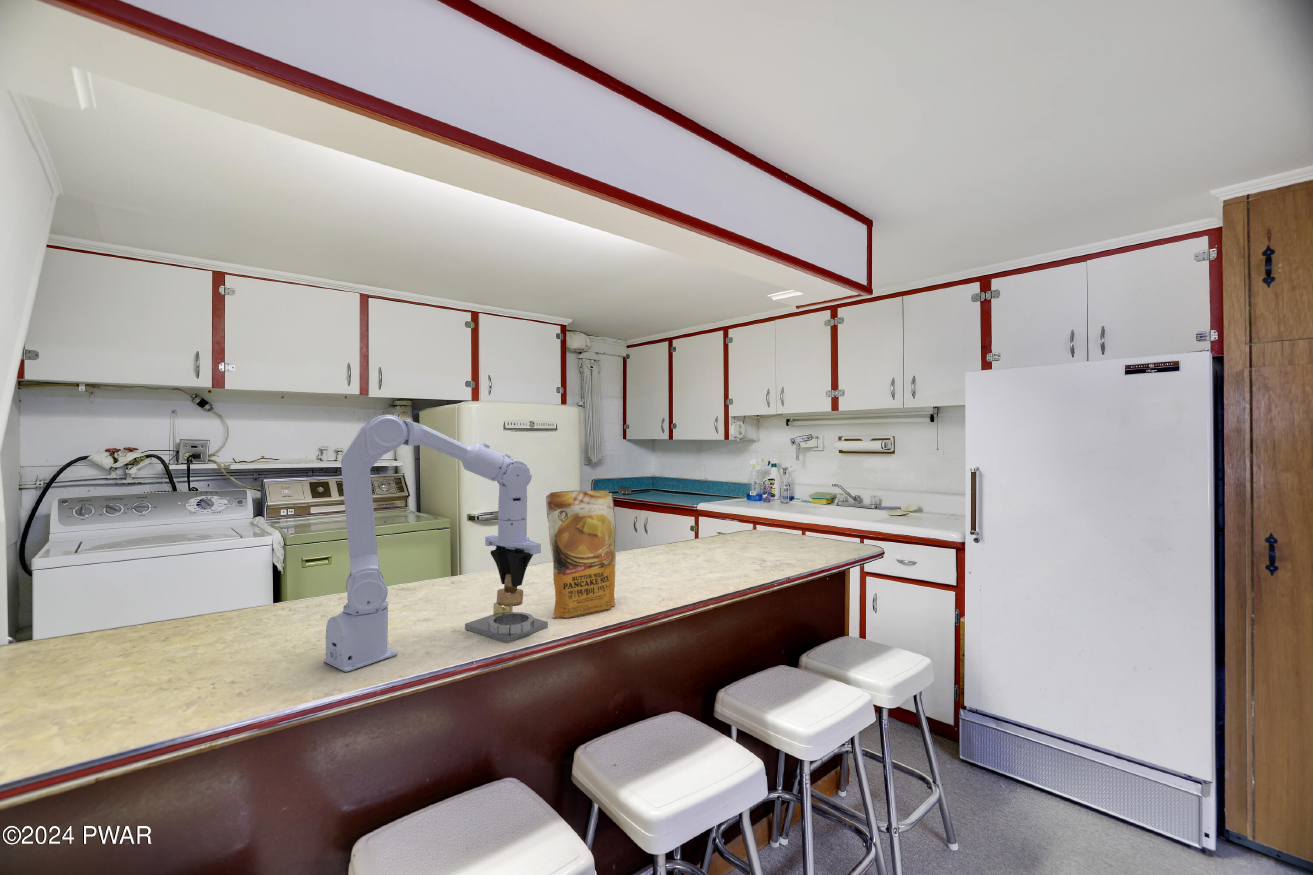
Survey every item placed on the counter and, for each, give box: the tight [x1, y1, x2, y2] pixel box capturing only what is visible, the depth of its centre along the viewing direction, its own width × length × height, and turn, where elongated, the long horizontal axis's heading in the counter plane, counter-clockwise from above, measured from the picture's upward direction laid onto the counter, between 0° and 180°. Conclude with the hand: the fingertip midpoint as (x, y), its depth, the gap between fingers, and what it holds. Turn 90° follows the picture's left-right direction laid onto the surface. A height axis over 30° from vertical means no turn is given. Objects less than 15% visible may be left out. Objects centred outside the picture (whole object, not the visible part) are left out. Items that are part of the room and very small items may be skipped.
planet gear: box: [495, 572, 524, 607], centre depth 113 cm, size 5×5×6 cm
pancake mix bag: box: [545, 489, 617, 619], centre depth 128 cm, size 7×19×28 cm, turn 126°
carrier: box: [464, 602, 549, 644], centre depth 116 cm, size 11×14×5 cm
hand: (511, 584), depth 114 cm, fingers closed on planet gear, 3 cm apart
